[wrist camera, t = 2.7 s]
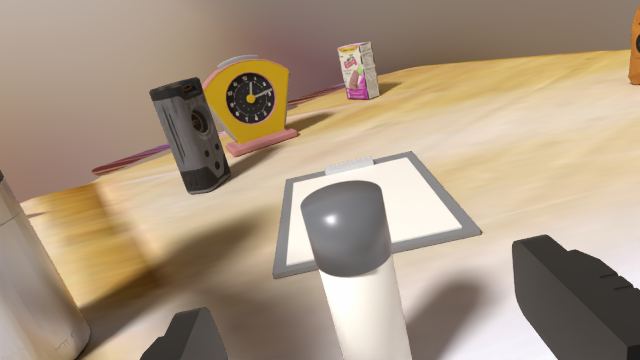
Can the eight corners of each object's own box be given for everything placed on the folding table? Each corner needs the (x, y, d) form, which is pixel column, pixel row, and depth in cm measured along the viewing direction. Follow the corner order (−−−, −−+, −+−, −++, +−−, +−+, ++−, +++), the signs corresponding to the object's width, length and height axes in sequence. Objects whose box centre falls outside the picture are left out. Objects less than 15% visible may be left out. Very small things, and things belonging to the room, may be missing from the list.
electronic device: (211, 193, 71) (172, 85, 64) (184, 195, 73) (144, 91, 66) (234, 173, 79) (202, 75, 72) (209, 176, 81) (176, 81, 74)
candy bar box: (346, 99, 126) (336, 48, 120) (358, 95, 129) (348, 44, 123) (368, 100, 117) (358, 44, 111) (381, 95, 119) (371, 40, 114)
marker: (354, 420, 24) (299, 226, 19) (347, 362, 29) (300, 190, 24) (426, 406, 24) (389, 206, 19) (408, 349, 28) (374, 174, 23)
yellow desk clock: (223, 161, 90) (192, 68, 82) (217, 154, 98) (187, 68, 90) (308, 133, 97) (286, 44, 89) (295, 128, 105) (274, 46, 97)
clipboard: (273, 278, 41) (269, 266, 40) (286, 182, 67) (284, 174, 66) (480, 234, 40) (479, 221, 39) (411, 154, 66) (410, 145, 65)
